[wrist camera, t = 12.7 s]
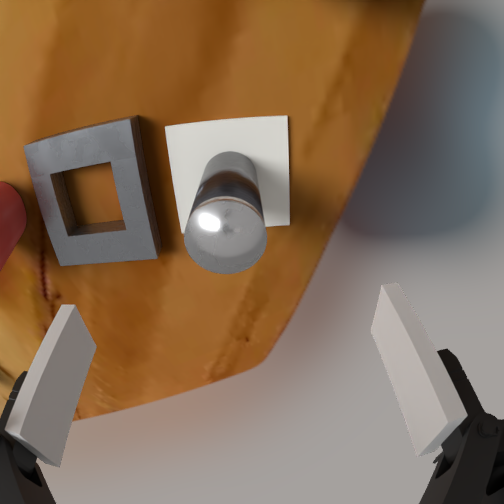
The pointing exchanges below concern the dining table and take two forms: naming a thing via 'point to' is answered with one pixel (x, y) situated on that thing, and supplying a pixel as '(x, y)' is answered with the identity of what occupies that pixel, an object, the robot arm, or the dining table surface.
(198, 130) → the pad
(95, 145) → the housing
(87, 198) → the dining table surface
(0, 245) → the flower pot
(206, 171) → the metal cylinder
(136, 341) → the dining table surface
